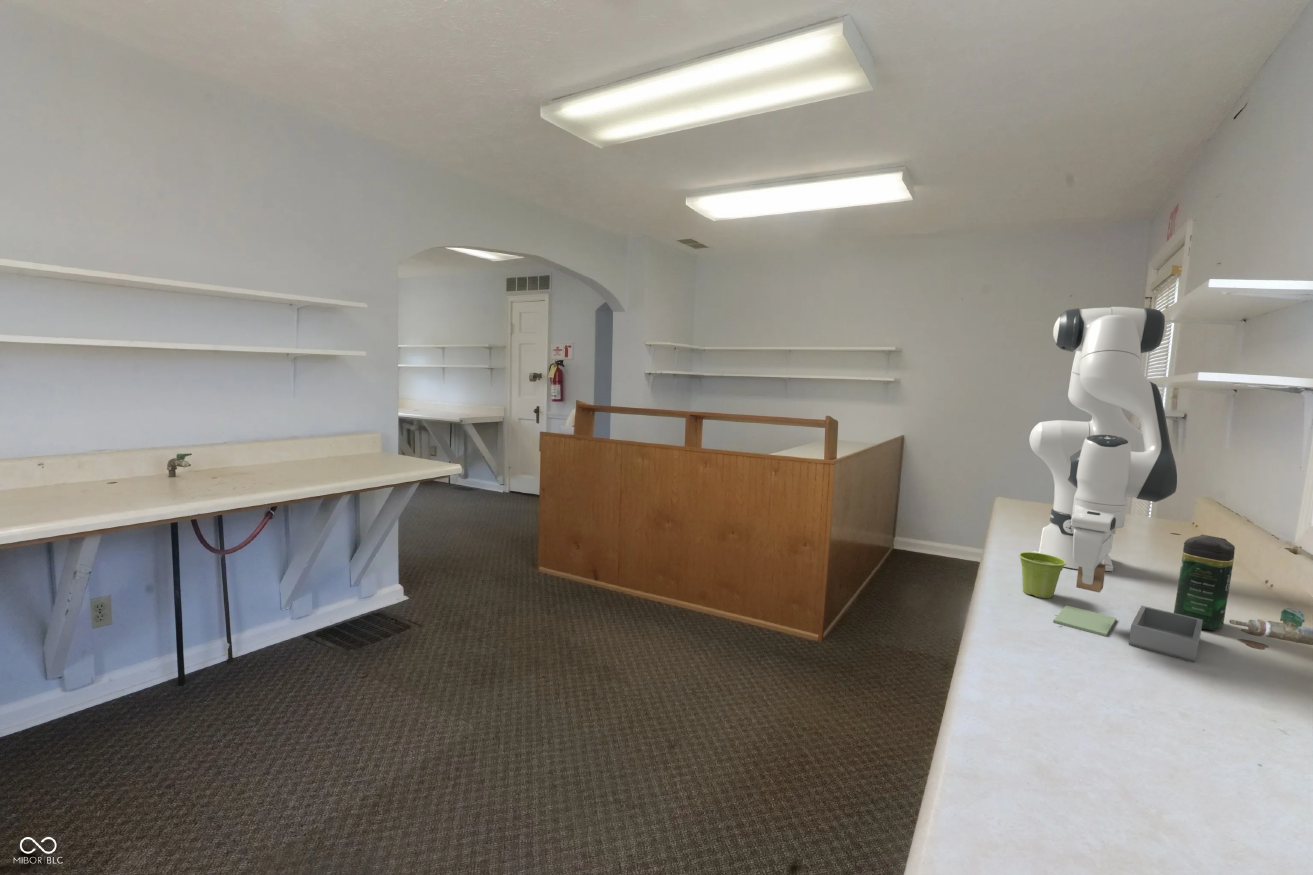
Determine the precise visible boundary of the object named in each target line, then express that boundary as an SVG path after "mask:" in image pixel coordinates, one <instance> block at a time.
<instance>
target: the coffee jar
mask: <svg viewBox="0 0 1313 875" xmlns="http://www.w3.org/2000/svg"><path fill="white" fill-rule="evenodd" d="M1235 550H1236V547H1235V545H1234V544H1233V543H1231V541H1230V542H1229V541H1228V540H1227V539H1226V538H1223V537H1218V536H1212V535H1207V534H1200V535H1196V536H1192V537H1189V538H1187V539H1186V540H1185V541H1184V542H1183V549H1182V555H1181V556H1182V558H1181V563H1180V569H1179V570H1180V571H1179V576H1178V584H1177V591H1176V597H1175V601H1174V609H1173V613H1176V614H1181V615H1185V616H1189V617H1193V618H1198V619H1202V620H1203V622H1202V629H1204V630H1210V631H1218V630H1219V629H1221V628H1222V627H1223V626H1224V623H1225V616H1226V610H1227V604H1228V598H1229V592H1230V587H1231V581H1232V574H1233V568H1234V567H1233V565H1234V559H1235ZM1202 629H1201V630H1202Z"/></svg>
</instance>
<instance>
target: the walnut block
mask: <svg viewBox="0 0 1313 875" xmlns="http://www.w3.org/2000/svg"><path fill="white" fill-rule="evenodd" d="M1105 568H1106V565H1104V564H1099V565H1098V566H1097V567H1096V568H1095V573H1094V575H1095V577H1094V582H1093V584H1091V585H1090V584H1085V583H1083V582H1082V578H1083V572H1082V567H1078V569H1077V576H1076V587H1075V588H1077V589H1081V590H1087V591H1091V592H1095V593H1101V592H1102V591H1103V588H1104V584H1105V583H1104V582H1105V574H1106V571H1105Z"/></svg>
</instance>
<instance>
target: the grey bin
mask: <svg viewBox="0 0 1313 875" xmlns="http://www.w3.org/2000/svg"><path fill="white" fill-rule="evenodd" d="M1202 622H1203V620H1202V619H1198V618H1193V617H1189V616H1185V615H1181V614H1176V613H1174V612H1171V611H1168V610H1162V609H1159V608H1153V607H1150V606H1145V605H1141V606H1140V607H1139V609H1138V611H1137V613H1136V615H1135V617H1134V619H1133V621H1132V623H1131V626H1130V632H1129V641H1128V645H1129V646H1132V647H1135V648H1138V649H1143V650H1147V651H1151V652H1155V653H1158V654H1162V655H1166V656H1170V657H1173V658H1176V659H1180V660H1185V661H1188V662H1191V663H1195V662H1196V660H1197V655H1198V650H1199V647H1200V646H1199V645H1200V641H1201V640H1200V639H1201V635H1202Z"/></svg>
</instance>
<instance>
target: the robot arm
mask: <svg viewBox="0 0 1313 875" xmlns="http://www.w3.org/2000/svg"><path fill="white" fill-rule="evenodd" d="M1165 318H1166V317H1165V314H1164V313H1163V312H1162V311H1161V310H1159V309H1156V308H1151V307H1150V308H1149V307H1144V308H1137V307H1129V306H1111V307H1091V308H1083V309H1081V308H1078V307H1077V308H1070V309H1067V310H1064V311H1062V312H1061V313H1060V314H1059V317H1058V318H1057V319H1056V321H1055V323H1054V326H1053V329H1052V330H1053V331H1052V334H1053V340H1054V341H1055V346H1057V347H1058V348H1059V349H1060V350H1061V351H1066V352H1070V353H1071V352H1072V353H1074V352H1075V354H1074V358H1073V361H1072V368H1071V374H1070V379H1069V386H1068V392H1067V397H1068V401H1069V402H1070V403H1071V404H1072V405H1073V407H1076V409H1079V410H1081V411H1083V412H1085V413H1087V414H1089V415H1090V416H1091V420H1090V421H1082V420H1080V421H1079V420H1077V421H1076V420H1064V419H1062V420H1061V419H1057V420H1056V419H1055V420H1047V421H1046V420H1045V421H1040V422H1038V423H1037V424H1036V425H1035V426H1034V427H1032V430H1031V432H1030V434H1029V439H1028V440H1029V446H1030V448H1031V450H1032V452H1033V453H1034V454H1035V456H1037V457H1039V459H1041V460H1042V461H1043V462H1044V463H1045V464H1046V466H1047V468H1048V469H1049V470H1050V472H1051V475H1052V478H1053V484H1054V494H1053V495H1054V496H1053V507H1052V508H1051V511H1050V513H1049V521H1050V523H1049V524H1048V525H1045V526H1044V527H1042V531H1041V537H1040V543H1039V549H1035V550H1033V551H1032V552H1035V553H1042V554H1047V555H1051V556H1055V557H1058V558H1061V559H1063V560H1064V561H1066V565H1064V566H1063V568H1069V569H1072V570H1073V569H1074V570H1078V567H1082V572H1083V578H1082V582H1083V583H1085V584H1090V585H1091V584H1093V582H1094V577H1095V575H1094V573H1095V568H1096V567H1097V566H1098V565H1099V564H1104V565H1106V568H1105V572H1114V566H1113V562H1112V559H1111V556H1110V555H1109V554H1110V553H1111V552H1112V548H1113V541H1114V540H1113V539H1114V535H1115V534H1116V530H1117V529H1122V528H1124V527H1125V521H1126V515H1127V507H1128V506H1127V505H1128V500H1127V498H1136V500H1141V501H1142V500H1144V501H1147V502H1154V503H1157V502H1158V503H1159V502H1160V501H1162V500H1165V499H1167V498H1169V497H1171V496H1173V494H1175V493H1176V491H1177V488H1178V486H1179V480H1180V479H1179V478H1180V476H1179V471H1178V467H1177V463H1176V460H1175V457H1174V453H1173V449H1172V445H1171V439H1170V433H1169V428H1168V423H1167V416H1166V412H1165V408H1164V402H1163V399H1162V395H1161V392H1160V389H1159V387H1158V385H1157V384H1156V383H1154V382H1152V381H1151V380H1148V378H1147V377H1146V376H1145V375H1144V373H1143V371H1142V367H1141V361H1142V360H1141V358H1142V356H1141V355H1142V354H1143V353H1144V354H1145V353H1150V352H1153V351H1154V350H1156V349H1157V348H1159V347H1160V345H1161V344H1162V342H1163V340H1164V339H1165V337H1166V335H1167V329H1168V326H1167V321H1166V319H1165ZM1123 410H1125V411H1127V412H1130V413H1131V414H1133V415H1134V416H1136V418H1137V419H1138V420H1139V423H1140V427H1141V430H1140V429H1139V428H1138V427H1136V426H1135V425H1133V424H1132V423H1131V421H1129V420H1128V418H1127V417H1126V415H1125V414H1124V412H1123Z"/></svg>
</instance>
